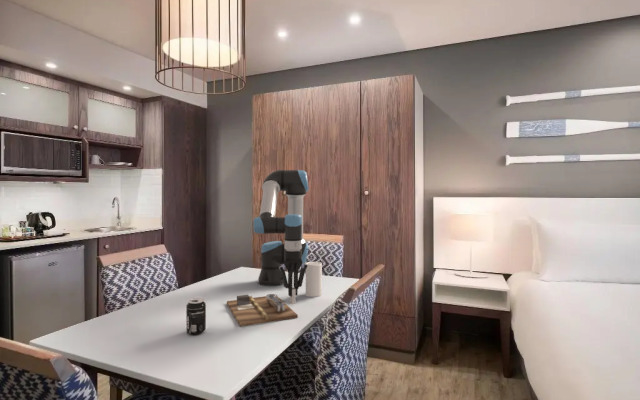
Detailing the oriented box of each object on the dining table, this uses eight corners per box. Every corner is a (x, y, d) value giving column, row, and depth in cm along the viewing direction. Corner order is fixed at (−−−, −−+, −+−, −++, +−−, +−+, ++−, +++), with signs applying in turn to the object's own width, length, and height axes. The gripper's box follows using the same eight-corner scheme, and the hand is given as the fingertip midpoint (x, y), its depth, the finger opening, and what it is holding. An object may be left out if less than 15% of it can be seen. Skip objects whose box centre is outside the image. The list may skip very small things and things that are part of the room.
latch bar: (265, 299, 161) (265, 293, 161) (274, 298, 162) (274, 292, 162) (276, 311, 145) (276, 304, 145) (286, 310, 147) (286, 303, 147)
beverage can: (190, 328, 134) (190, 297, 133) (208, 328, 133) (208, 297, 133) (183, 336, 127) (183, 303, 126) (201, 336, 127) (201, 303, 126)
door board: (226, 303, 163) (226, 292, 163) (276, 297, 173) (276, 287, 173) (239, 326, 136) (239, 313, 136) (297, 317, 146) (297, 305, 146)
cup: (322, 292, 182) (322, 261, 181) (320, 297, 174) (321, 265, 173) (306, 291, 183) (306, 261, 182) (304, 296, 174) (304, 264, 174)
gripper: (281, 252, 146) (281, 307, 147) (310, 250, 152) (309, 303, 153) (276, 249, 153) (276, 302, 154) (303, 247, 159) (303, 298, 159)
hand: (292, 303), depth 153 cm, fingers closed
